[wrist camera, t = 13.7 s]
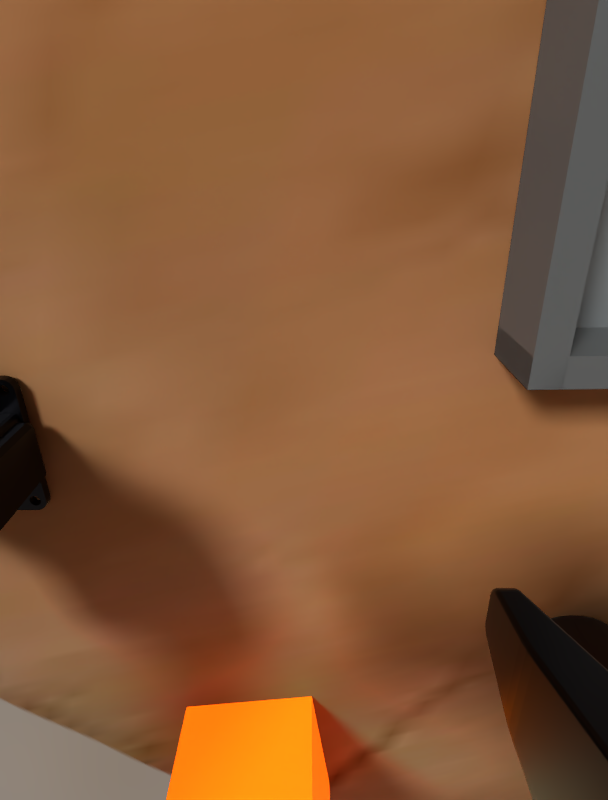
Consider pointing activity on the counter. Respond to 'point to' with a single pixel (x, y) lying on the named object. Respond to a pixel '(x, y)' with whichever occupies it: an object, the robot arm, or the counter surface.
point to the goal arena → (562, 212)
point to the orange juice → (250, 753)
